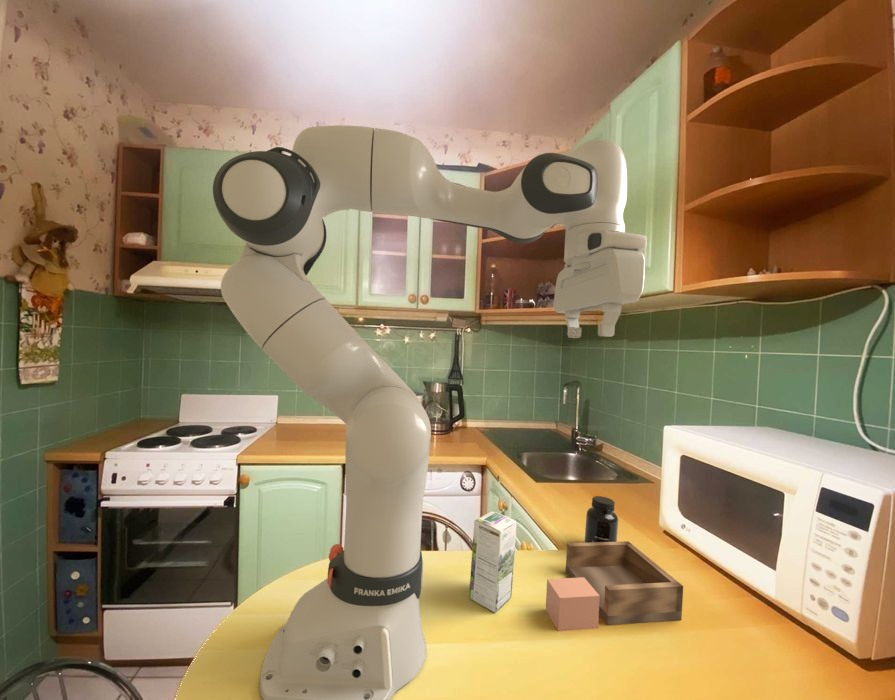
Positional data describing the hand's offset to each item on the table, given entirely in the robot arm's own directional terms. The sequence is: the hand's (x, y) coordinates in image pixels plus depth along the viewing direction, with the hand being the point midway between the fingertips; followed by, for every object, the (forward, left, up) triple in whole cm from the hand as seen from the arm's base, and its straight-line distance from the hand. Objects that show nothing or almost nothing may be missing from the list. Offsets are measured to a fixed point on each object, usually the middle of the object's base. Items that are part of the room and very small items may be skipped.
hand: (588, 337), depth 59 cm
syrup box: (-11, +10, -48) cm, 50 cm away
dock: (+14, +9, -48) cm, 51 cm away
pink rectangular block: (+2, +4, -48) cm, 48 cm away
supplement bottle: (+19, +24, -48) cm, 57 cm away
